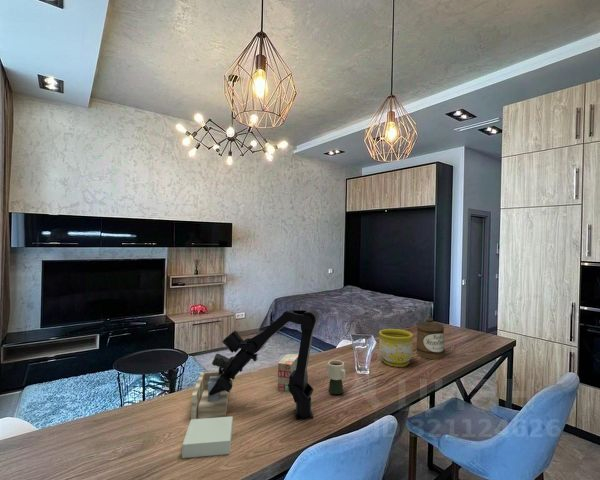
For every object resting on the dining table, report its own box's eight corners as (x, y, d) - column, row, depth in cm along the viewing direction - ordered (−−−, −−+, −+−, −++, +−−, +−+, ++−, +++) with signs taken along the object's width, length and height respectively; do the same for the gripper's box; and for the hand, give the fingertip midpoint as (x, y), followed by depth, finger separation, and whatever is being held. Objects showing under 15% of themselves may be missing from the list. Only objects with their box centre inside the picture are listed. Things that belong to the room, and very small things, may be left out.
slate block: (218, 400, 122) (218, 382, 122) (207, 401, 121) (208, 382, 121) (220, 393, 128) (220, 376, 128) (209, 394, 127) (210, 376, 127)
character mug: (350, 395, 136) (350, 364, 136) (339, 399, 132) (339, 368, 132) (333, 386, 145) (333, 357, 145) (321, 390, 140) (321, 360, 140)
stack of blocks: (292, 372, 161) (292, 347, 161) (304, 373, 159) (304, 349, 159) (277, 390, 140) (277, 362, 140) (291, 392, 138) (291, 364, 139)
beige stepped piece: (226, 417, 117) (227, 393, 118) (191, 420, 115) (191, 395, 116) (230, 390, 139) (230, 370, 139) (200, 392, 137) (201, 371, 137)
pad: (229, 453, 97) (230, 440, 97) (182, 458, 95) (182, 444, 95) (232, 427, 111) (232, 416, 111) (190, 431, 109) (191, 419, 109)
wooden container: (428, 360, 178) (427, 321, 178) (411, 352, 192) (411, 315, 192) (449, 358, 182) (449, 319, 182) (432, 350, 196) (432, 314, 197)
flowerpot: (420, 366, 169) (420, 335, 169) (392, 371, 162) (392, 339, 163) (398, 355, 186) (398, 327, 186) (372, 359, 179) (372, 330, 180)
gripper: (226, 340, 135) (199, 368, 133) (222, 355, 116) (191, 387, 114) (245, 358, 136) (218, 385, 134) (244, 375, 117) (213, 408, 115)
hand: (210, 390), depth 124 cm, fingers closed on slate block, 6 cm apart
